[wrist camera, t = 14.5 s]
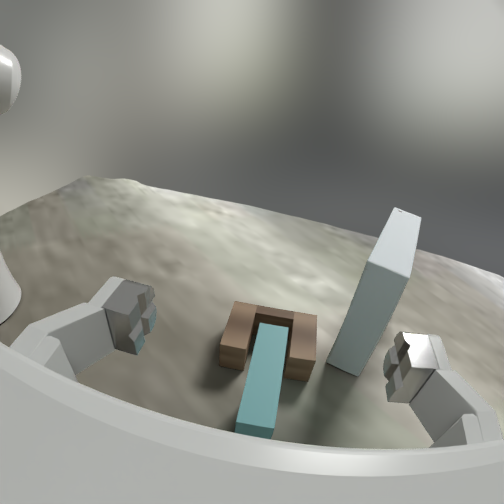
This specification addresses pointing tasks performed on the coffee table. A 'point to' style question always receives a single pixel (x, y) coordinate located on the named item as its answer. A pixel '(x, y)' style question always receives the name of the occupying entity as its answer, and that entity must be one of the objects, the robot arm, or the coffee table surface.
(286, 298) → the coffee table surface
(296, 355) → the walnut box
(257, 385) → the teal rectangular block
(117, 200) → the coffee table surface
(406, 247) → the skincare box
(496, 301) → the coffee table surface
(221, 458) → the robot arm
